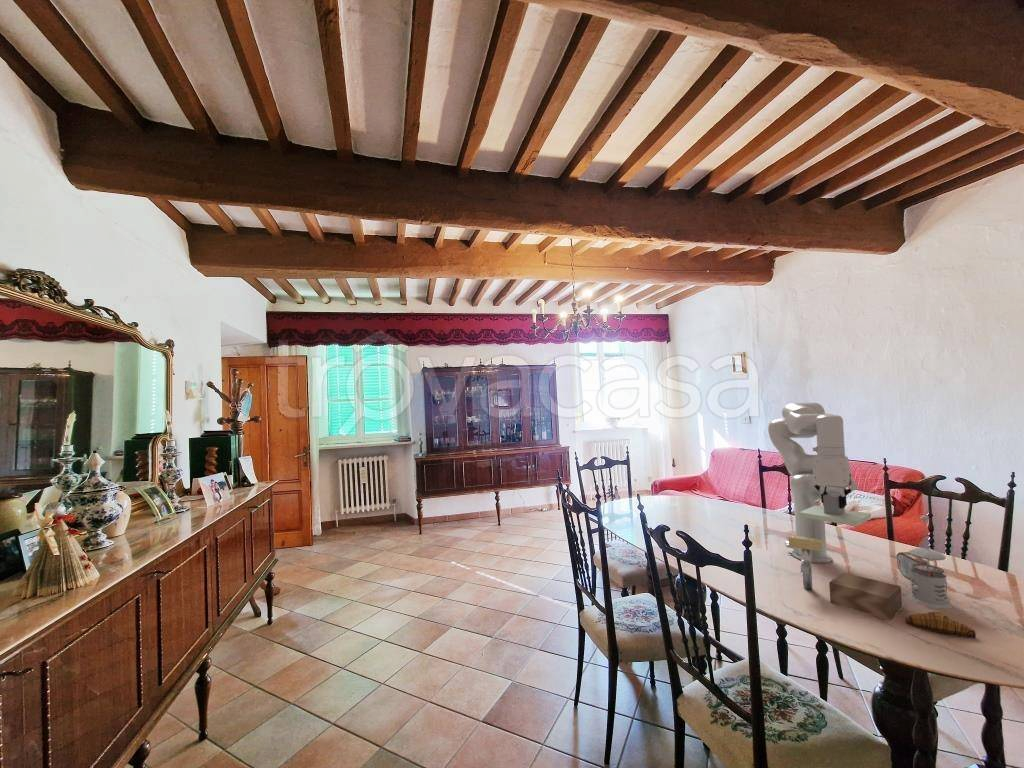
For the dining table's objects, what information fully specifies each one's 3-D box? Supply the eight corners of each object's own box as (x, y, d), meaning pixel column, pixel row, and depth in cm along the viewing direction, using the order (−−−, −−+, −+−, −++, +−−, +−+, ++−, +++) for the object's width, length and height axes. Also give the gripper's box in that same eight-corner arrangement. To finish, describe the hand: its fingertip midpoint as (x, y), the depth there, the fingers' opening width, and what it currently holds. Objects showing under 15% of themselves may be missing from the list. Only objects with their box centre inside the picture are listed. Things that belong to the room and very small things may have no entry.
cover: (799, 516, 151) (798, 494, 151) (815, 509, 159) (814, 488, 160) (856, 526, 138) (855, 501, 138) (870, 518, 147) (869, 495, 147)
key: (791, 583, 147) (789, 534, 147) (825, 589, 141) (822, 539, 142) (788, 594, 138) (786, 543, 139) (823, 601, 133) (821, 548, 133)
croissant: (906, 630, 117) (905, 610, 117) (903, 619, 122) (902, 601, 123) (980, 645, 109) (978, 624, 109) (973, 633, 115) (971, 613, 115)
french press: (903, 600, 133) (898, 515, 134) (913, 589, 140) (908, 509, 141) (949, 611, 125) (943, 522, 126) (957, 599, 132) (951, 515, 133)
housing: (830, 602, 133) (829, 582, 133) (844, 591, 140) (843, 572, 140) (890, 620, 121) (889, 597, 122) (902, 607, 129) (900, 586, 129)
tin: (938, 591, 138) (936, 564, 139) (926, 591, 139) (924, 563, 139) (905, 573, 153) (904, 548, 153) (895, 572, 154) (893, 548, 154)
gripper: (798, 451, 154) (801, 504, 153) (857, 454, 141) (861, 513, 140) (807, 449, 159) (810, 501, 158) (865, 452, 145) (868, 509, 144)
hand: (834, 506), depth 149 cm, fingers closed on cover, 4 cm apart
